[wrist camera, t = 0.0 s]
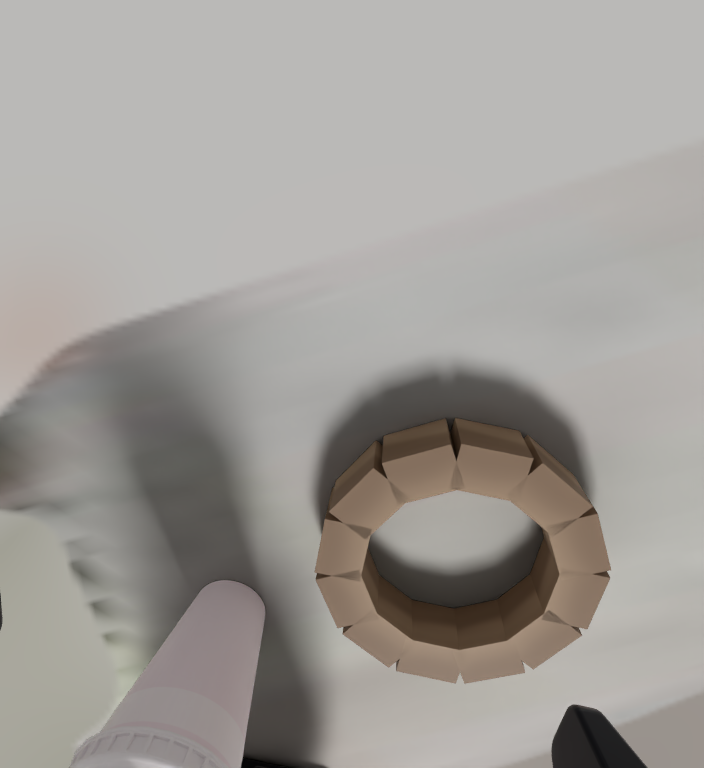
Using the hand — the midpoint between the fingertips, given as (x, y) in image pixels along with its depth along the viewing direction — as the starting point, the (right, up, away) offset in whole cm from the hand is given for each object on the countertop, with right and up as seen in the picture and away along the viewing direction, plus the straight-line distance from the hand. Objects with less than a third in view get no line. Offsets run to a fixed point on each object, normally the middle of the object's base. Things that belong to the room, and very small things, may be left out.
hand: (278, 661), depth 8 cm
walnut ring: (+6, -3, +16) cm, 17 cm away
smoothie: (-5, -7, +19) cm, 21 cm away
